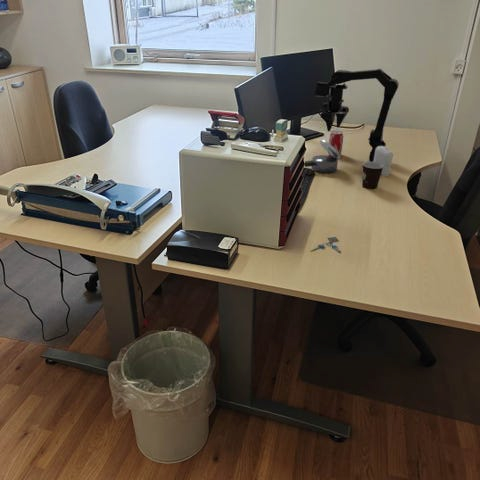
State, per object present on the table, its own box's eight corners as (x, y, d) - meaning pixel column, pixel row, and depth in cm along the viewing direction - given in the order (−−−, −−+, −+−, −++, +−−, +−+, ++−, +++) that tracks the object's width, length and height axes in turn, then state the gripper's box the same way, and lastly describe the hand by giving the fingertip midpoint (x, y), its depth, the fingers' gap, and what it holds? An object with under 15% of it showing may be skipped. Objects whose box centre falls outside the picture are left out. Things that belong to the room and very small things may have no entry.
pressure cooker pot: (327, 163, 220) (328, 154, 217) (341, 171, 210) (342, 161, 208) (295, 168, 213) (296, 158, 211) (308, 176, 204) (309, 166, 201)
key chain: (330, 236, 155) (330, 234, 155) (352, 244, 151) (352, 241, 150) (309, 252, 146) (309, 249, 145) (331, 260, 141) (332, 258, 141)
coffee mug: (380, 191, 190) (384, 169, 185) (359, 189, 192) (363, 167, 187) (378, 181, 200) (382, 160, 195) (358, 179, 201) (362, 158, 197)
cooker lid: (329, 154, 217) (332, 150, 217) (343, 161, 208) (346, 157, 208) (315, 138, 210) (319, 134, 210) (329, 145, 201) (333, 141, 200)
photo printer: (390, 175, 207) (395, 150, 200) (382, 176, 205) (387, 150, 199) (378, 168, 215) (382, 143, 209) (370, 169, 214) (374, 144, 208)
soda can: (337, 157, 228) (340, 134, 222) (325, 155, 232) (327, 132, 226) (343, 154, 233) (346, 131, 227) (331, 151, 237) (333, 129, 231)
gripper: (331, 92, 228) (328, 123, 235) (312, 98, 215) (310, 130, 223) (351, 95, 222) (347, 126, 229) (332, 101, 209) (329, 134, 217)
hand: (333, 129), depth 225 cm, fingers open, 9 cm apart
